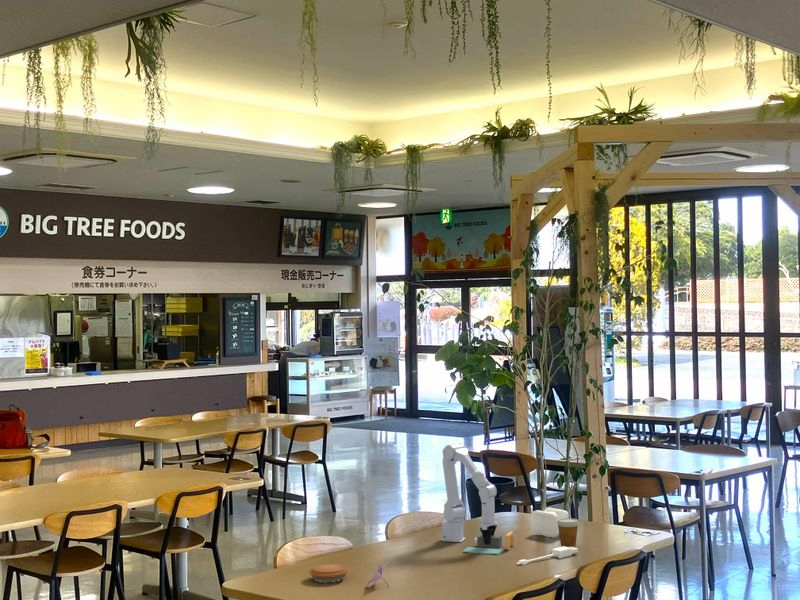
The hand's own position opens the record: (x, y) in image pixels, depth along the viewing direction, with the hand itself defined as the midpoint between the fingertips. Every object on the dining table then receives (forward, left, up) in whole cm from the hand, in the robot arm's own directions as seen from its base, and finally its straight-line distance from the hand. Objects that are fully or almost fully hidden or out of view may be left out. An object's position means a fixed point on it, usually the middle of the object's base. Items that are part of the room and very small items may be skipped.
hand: (488, 542), depth 426 cm
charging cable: (+29, -15, -2) cm, 33 cm away
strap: (+10, 0, -2) cm, 10 cm away
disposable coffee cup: (+34, +8, -2) cm, 35 cm away
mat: (0, -10, -2) cm, 10 cm away
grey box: (0, 0, -2) cm, 2 cm away
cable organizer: (+22, +30, -2) cm, 37 cm away
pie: (-46, -71, -2) cm, 85 cm away
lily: (-23, -75, -2) cm, 78 cm away
